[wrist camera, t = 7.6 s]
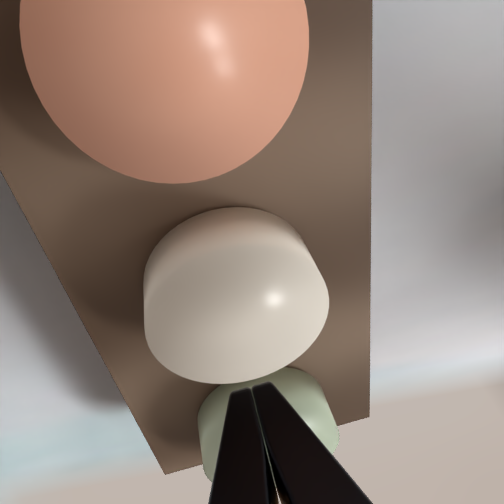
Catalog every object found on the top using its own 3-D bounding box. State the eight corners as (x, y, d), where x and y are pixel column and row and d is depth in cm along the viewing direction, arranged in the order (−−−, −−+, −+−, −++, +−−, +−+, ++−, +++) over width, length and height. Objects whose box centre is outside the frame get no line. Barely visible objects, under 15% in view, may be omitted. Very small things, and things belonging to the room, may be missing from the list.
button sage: (183, 389, 14) (188, 435, 13) (319, 352, 15) (336, 393, 13) (212, 460, 17) (218, 505, 16) (326, 428, 17) (341, 469, 16)
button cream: (119, 232, 11) (117, 275, 9) (301, 188, 11) (323, 223, 10) (168, 355, 13) (172, 401, 12) (314, 316, 14) (333, 357, 12)
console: (-69, -87, 9) (-140, -88, 7) (315, -157, 10) (373, -182, 7) (161, 406, 19) (165, 474, 17) (341, 357, 20) (369, 416, 18)
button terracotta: (-13, -89, 7) (-44, -89, 6) (267, -140, 7) (296, -153, 6) (92, 169, 10) (86, 208, 8) (294, 123, 10) (318, 153, 9)
